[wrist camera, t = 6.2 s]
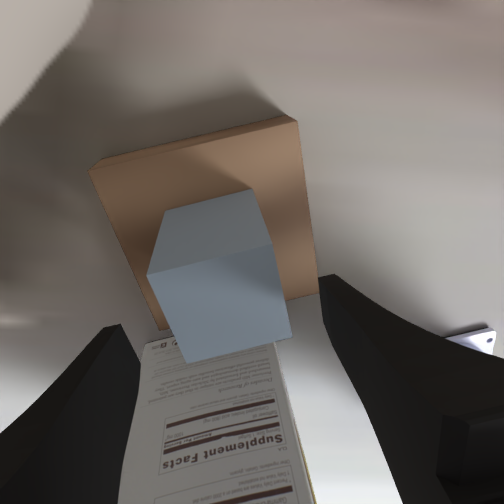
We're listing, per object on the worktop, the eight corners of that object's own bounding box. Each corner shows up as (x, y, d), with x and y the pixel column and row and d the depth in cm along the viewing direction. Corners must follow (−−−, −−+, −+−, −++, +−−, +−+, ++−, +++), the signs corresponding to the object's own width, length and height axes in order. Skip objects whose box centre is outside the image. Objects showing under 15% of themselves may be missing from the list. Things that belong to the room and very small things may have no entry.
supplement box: (289, 396, 28) (378, 747, 14) (183, 423, 29) (158, 801, 14) (267, 308, 24) (364, 696, 9) (140, 341, 24) (32, 779, 9)
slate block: (269, 263, 19) (292, 337, 14) (192, 282, 19) (186, 363, 14) (252, 188, 17) (272, 243, 12) (165, 210, 17) (146, 275, 12)
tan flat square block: (307, 267, 23) (320, 292, 21) (165, 301, 23) (159, 330, 21) (284, 113, 18) (297, 120, 16) (104, 156, 18) (87, 171, 16)
